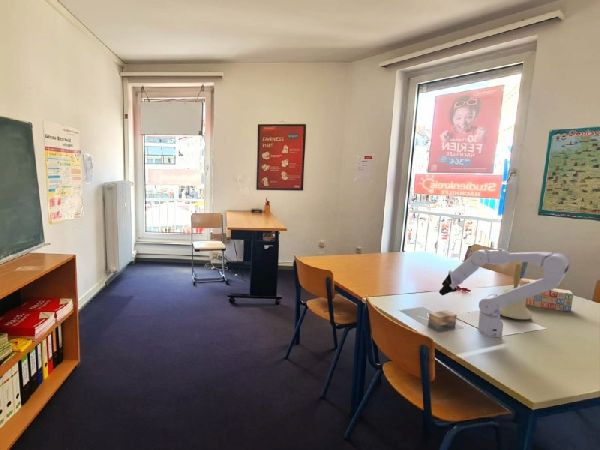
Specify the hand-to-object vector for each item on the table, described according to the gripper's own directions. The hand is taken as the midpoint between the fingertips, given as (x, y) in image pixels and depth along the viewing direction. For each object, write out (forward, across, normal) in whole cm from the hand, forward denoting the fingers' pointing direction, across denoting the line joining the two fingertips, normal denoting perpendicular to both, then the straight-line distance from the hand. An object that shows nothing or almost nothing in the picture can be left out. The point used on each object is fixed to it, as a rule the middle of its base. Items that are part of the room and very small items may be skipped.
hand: (442, 289), depth 153 cm
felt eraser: (+6, +14, +8) cm, 17 cm away
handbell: (-3, -19, +34) cm, 39 cm away
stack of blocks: (-7, -44, +48) cm, 65 cm away
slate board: (+11, +10, +4) cm, 15 cm away
